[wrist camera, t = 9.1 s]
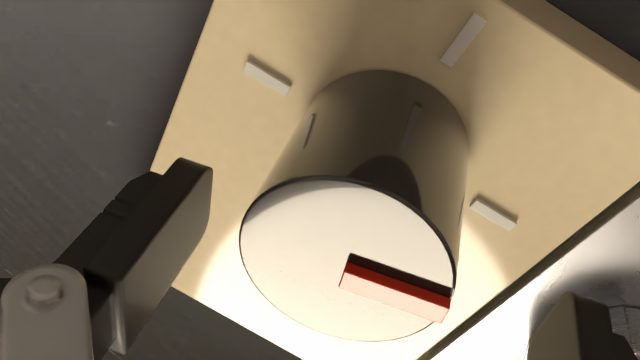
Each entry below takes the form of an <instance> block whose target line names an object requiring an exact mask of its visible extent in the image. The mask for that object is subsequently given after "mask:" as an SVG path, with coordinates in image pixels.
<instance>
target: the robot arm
mask: <svg viewBox="0 0 640 360" xmlns="http://www.w3.org/2000/svg"><path fill="white" fill-rule="evenodd" d="M212 183H213V169H212V168H211V167H209V166H206V165H203V164H200V163H197V162H194V161H191V160H188V159H185V158H183V157H180V158H178V159H176V161H175V162H174V163H173V164H172V165H171V166H170V167H169V168H168V170H167V171H166V172H165V173H164V174H163V175H161V174H158V173H156V172H153V171H150V172H148V173H146V174H144V175H142V176H140V177H138V178H136V179H134V180H131V181H130V182H129V183H128V184H127V185H126V186H125V187H124V188H123V189H122V190H121V191H120V192H119V193H118V195H117V196H116V197H115V200H112V201H111V202H110V203H109V204H108V205H107V206H106V207H105V208H104V211H103V213H100V214H99V215H98V216H97V217H96V218H95V219H94V220H93V221H92V222H91V223H90V225H89V226H88V227H87V228H86V229H85V230H84V231H83V232H82V233H81V234H80V235H79V236H78V237H77V238H76V240H75V241H74V242H73V243H72V244H71V245H70V246H69V247H68V248H67V249H66V250H65V251H64V252H63V253H62V255H61V256H60V257H59V258H58V259H57V260H56V261H54V262H53V263H50V264H42V265H37V266H34V267H31V268H28V269H26V270H24V271H22V272H20V273H19V274H17V275H16V276H15V277H13V278H0V360H101V359H102V358H103V356H104V355H105V353H106V352H107V350H108V349H111V350H113V351H116V352H119V353H121V354H124V355H125V354H126V352H127V351H128V349H129V348H130V346H131V345H132V343H133V342H134V340H135V339H136V337H137V336H138V334H139V333H140V331H141V330H142V328H143V327H144V325H145V324H146V322H147V321H148V319H149V318H150V316H151V315H152V313H153V312H154V310H155V309H156V307H157V306H158V304H159V303H160V301H161V300H162V298H163V297H164V295H165V294H166V292H167V291H168V289H169V288H170V286H171V285H172V283H173V282H174V280H175V279H176V277H177V276H178V274H179V273H180V271H181V270H182V268H183V267H184V265H185V264H186V262H187V261H188V259H189V258H190V256H191V255H192V253H193V251H194V250H195V248H196V247H197V245H198V244H199V242H200V241H201V239H202V237H203V235H204V233H205V230H206V228H207V225H208V221H209V216H210V205H211V194H212ZM527 360H638V358H637V357H636V355H635V353H634V351H633V350H632V348H631V346H630V345H629V343H628V341H627V340H626V338H625V336H622V335H619V334H616V333H613V330H612V324H611V318H610V313H609V308H608V306H607V305H606V304H605V303H603V302H600V301H597V300H594V299H591V298H588V297H585V296H582V295H579V294H576V293H574V292H571V291H567V292H565V293H564V294H563V295H562V296H561V298H560V299H559V300H558V302H557V303H556V304H555V305H554V307H553V308H552V309H551V311H550V312H549V313H548V315H547V316H546V317H545V319H544V320H543V321H542V323H541V324H540V325H539V327H538V328H537V329H536V331H535V332H534V334H533V336H532V338H531V341H530V344H529V347H528V352H527Z"/></svg>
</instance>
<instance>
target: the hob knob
mask: <svg viewBox="0 0 640 360" xmlns="http://www.w3.org/2000/svg"><path fill="white" fill-rule="evenodd" d="M468 161H469V140H468V135H467V131H466V127H465V125H464V123H463V121H462V118H461V117H460V115H459V113H458V112H457V110H456V109H455V107H454V106H453V105H452V104H451V103H450V101H449V100H448V99H447V98H446V97H445V96H444V95H442V94H441V93H440V92H439V91H438V90H436V89H435V88H434V87H432V86H431V85H429V84H427V83H426V82H424V81H422V80H420V79H418V78H415V77H413V76H410V75H407V74H403V73H400V72H395V71H387V70H368V71H360V72H356V73H352V74H349V75H346V76H344V77H341V78H339V79H337V80H335V81H333V82H332V83H330V84H329V85H327V86H326V87H325V88H324V89H322V90H321V91H320V92H319V93H318V94H317V96H316V97H315V98H314V99H313V101H312V102H311V104H310V105H309V107H308V108H307V110H306V112H305V113H304V115H303V117H302V118H301V120H300V122H299V123H298V125H297V127H296V128H295V130H294V132H293V133H292V135H291V137H290V138H289V140H288V142H287V143H286V145H285V147H284V148H283V150H282V152H281V153H280V155H279V157H278V158H277V160H276V162H275V163H274V165H273V167H272V168H271V170H270V172H269V173H268V175H267V177H266V178H265V180H264V182H263V183H262V185H261V187H260V188H259V190H258V192H257V193H256V195H255V197H254V198H253V200H252V202H251V203H250V205H249V207H248V208H247V210H246V212H245V214H244V216H243V219H242V221H241V225H240V229H239V250H240V255H241V259H242V263H243V265H244V267H245V270H246V272H247V274H248V276H249V277H250V279H251V281H252V282H253V284H254V285H255V286H256V288H257V289H258V290H259V292H260V293H261V294H262V295H263V296H264V297H265V298H266V299H267V300H268V301H269V302H270V303H271V304H272V305H273V306H275V307H276V308H277V309H278V310H280V311H281V312H282V313H284V314H285V315H286V316H288V317H290V318H291V319H293V320H295V321H296V322H298V323H300V324H302V325H304V326H306V327H308V328H310V329H313V330H315V331H318V332H320V333H323V334H326V335H329V336H333V337H337V338H341V339H346V340H353V341H363V342H383V341H390V340H396V339H400V338H404V337H408V336H410V335H413V334H416V333H418V332H420V331H422V330H424V329H425V328H427V327H428V326H430V325H431V324H433V323H434V322H437V323H440V324H441V323H442V322H443V320H444V318H445V317H446V315H447V313H448V311H449V309H450V305H451V300H452V298H453V295H454V292H455V288H456V282H457V272H458V262H459V252H460V242H461V232H462V222H463V212H464V202H465V192H466V181H467V171H468Z"/></svg>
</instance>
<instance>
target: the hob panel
mask: <svg viewBox="0 0 640 360" xmlns="http://www.w3.org/2000/svg"><path fill="white" fill-rule="evenodd" d="M368 70H387V71H395V72H400V73H403V74H407V75H410V76H413V77H415V78H418V79H420V80H422V81H424V82H426V83H427V84H429V85H431V86H432V87H434V88H435V89H436V90H438V91H439V92H440V93H441V94H442V95H444V96H445V97H446V98H447V99H448V100H449V101H450V103H451V104H452V105H453V106H454V107H455V109H456V110H457V112H458V113H459V115H460V117H461V118H462V121H463V123H464V125H465V127H466V131H467V135H468V140H469V161H468V171H467V181H466V192H465V202H464V212H463V222H462V232H461V242H460V252H459V262H458V272H457V282H456V288H455V292H454V295H453V298H452V300H451V305H450V309H449V311H448V313H447V315H446V317H445V318H444V320H443V322H442V323H441V324H440V323H437V322H434V323H433V324H431V325H430V326H428V327H427V328H425V329H424V330H422V331H420V332H418V333H416V334H413V335H410V336H408V337H404V338H400V339H396V340H390V341H383V342H363V341H353V340H346V339H341V338H337V337H333V336H329V335H326V334H323V333H320V332H318V331H315V330H313V329H310V328H308V327H306V326H304V325H302V324H300V323H298V322H296V321H295V320H293V319H291V318H290V317H288V316H286V315H285V314H284V313H282V312H281V311H280V310H278V309H277V308H276V307H275V306H273V305H272V304H271V303H270V302H269V301H268V300H267V299H266V298H265V297H264V296H263V295H262V294H261V293H260V292H259V290H258V289H257V288H256V286H255V285H254V284H253V282H252V281H251V279H250V277H249V276H248V274H247V272H246V270H245V267H244V265H243V263H242V259H241V255H240V250H239V229H240V225H241V221H242V219H243V216H244V214H245V212H246V210H247V208H248V207H249V205H250V203H251V202H252V200H253V198H254V197H255V195H256V193H257V192H258V190H259V188H260V187H261V185H262V183H263V182H264V180H265V178H266V177H267V175H268V173H269V172H270V170H271V168H272V167H273V165H274V163H275V162H276V160H277V158H278V157H279V155H280V153H281V152H282V150H283V148H284V147H285V145H286V143H287V142H288V140H289V138H290V137H291V135H292V133H293V132H294V130H295V128H296V127H297V125H298V123H299V122H300V120H301V118H302V117H303V115H304V113H305V112H306V110H307V108H308V107H309V105H310V104H311V102H312V101H313V99H314V98H315V97H316V96H317V94H318V93H319V92H320V91H321V90H322V89H324V88H325V87H326V86H327V85H329V84H330V83H332V82H333V81H335V80H337V79H339V78H341V77H344V76H346V75H349V74H352V73H356V72H360V71H368ZM180 157H183V158H185V159H188V160H191V161H194V162H197V163H200V164H203V165H206V166H209V167H211V168H212V169H213V183H212V194H211V205H210V216H209V221H208V225H207V228H206V230H205V233H204V235H203V237H202V239H201V241H200V242H199V244H198V245H197V247H196V248H195V250H194V251H193V253H192V255H191V256H190V258H189V259H188V261H187V262H186V264H185V265H184V267H183V268H182V270H181V271H180V273H179V274H178V276H177V277H176V279H175V280H174V282H173V283H172V285H171V286H172V287H174V288H176V289H177V290H179V291H181V292H183V293H184V294H186V295H188V296H190V297H192V298H193V299H195V300H197V301H199V302H201V303H202V304H204V305H206V306H208V307H210V308H211V309H213V310H215V311H217V312H218V313H220V314H222V315H224V316H226V317H227V318H229V319H231V320H233V321H235V322H236V323H238V324H240V325H242V326H244V327H245V328H247V329H249V330H251V331H252V332H254V333H256V334H258V335H260V336H261V337H263V338H265V339H267V340H269V341H270V342H272V343H274V344H276V345H278V346H279V347H281V348H283V349H285V350H286V351H288V352H290V353H292V354H294V355H295V356H297V357H299V358H301V359H303V360H417V359H418V358H419V357H421V356H422V355H423V354H424V353H426V352H427V351H428V350H429V349H431V348H432V347H433V346H434V345H436V344H437V343H438V342H439V341H441V340H442V339H443V338H444V337H446V336H447V335H448V334H449V333H451V332H452V331H453V330H454V329H456V328H457V327H458V326H459V325H461V324H462V323H463V322H464V321H466V320H467V319H468V318H469V317H471V316H472V315H473V314H474V313H476V312H477V311H478V310H479V309H481V308H482V307H483V306H484V305H486V304H487V303H488V302H489V301H491V300H492V299H493V298H494V297H496V296H497V295H498V294H499V293H501V292H502V291H503V290H504V289H506V288H507V287H508V286H509V285H511V284H512V283H513V282H514V281H516V280H517V279H518V278H519V277H520V276H522V275H523V274H524V273H525V272H527V271H528V270H529V269H530V268H532V267H533V266H534V265H535V264H537V263H538V262H539V261H540V260H542V259H543V258H544V257H545V256H547V255H548V254H549V253H550V252H552V251H553V250H554V249H555V248H557V247H558V246H559V245H560V244H562V243H563V242H564V241H565V240H567V239H568V238H569V237H570V236H572V235H573V234H574V233H575V232H577V231H578V230H579V229H580V228H582V227H583V226H584V225H585V224H587V223H588V222H589V221H590V220H592V219H593V218H594V217H595V216H597V215H598V214H599V213H600V212H602V211H603V210H604V209H605V208H607V207H608V206H609V205H610V204H612V203H613V202H614V201H615V200H617V199H618V198H619V197H620V196H622V195H623V194H624V193H625V192H627V191H628V190H629V189H630V188H631V187H633V186H634V185H635V184H636V183H638V182H639V181H640V62H639V61H638V60H636V59H635V58H633V57H632V56H630V55H629V54H627V53H626V52H624V51H622V50H621V49H619V48H618V47H616V46H615V45H613V44H612V43H610V42H609V41H607V40H605V39H604V38H602V37H601V36H599V35H598V34H596V33H595V32H593V31H592V30H590V29H588V28H587V27H585V26H584V25H582V24H581V23H579V22H578V21H576V20H575V19H573V18H571V17H570V16H568V15H567V14H565V13H564V12H562V11H561V10H559V9H558V8H556V7H554V6H553V5H551V4H550V3H548V2H547V1H545V0H214V1H213V4H212V6H211V9H210V11H209V14H208V17H207V19H206V22H205V25H204V27H203V30H202V33H201V35H200V38H199V41H198V43H197V46H196V49H195V51H194V54H193V57H192V59H191V62H190V65H189V67H188V70H187V73H186V75H185V78H184V81H183V83H182V86H181V88H180V91H179V94H178V96H177V99H176V102H175V104H174V107H173V110H172V112H171V115H170V118H169V120H168V123H167V126H166V128H165V131H164V134H163V136H162V139H161V142H160V144H159V147H158V150H157V152H156V155H155V158H154V160H153V163H152V165H151V168H150V171H153V172H156V173H158V174H161V175H163V174H164V173H165V172H166V171H167V170H168V168H169V167H170V166H171V165H172V164H173V163H174V162H175V161H176V159H178V158H180ZM150 171H149V172H150Z"/></svg>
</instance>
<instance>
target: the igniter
mask: <svg viewBox="0 0 640 360" xmlns="http://www.w3.org/2000/svg"><path fill="white" fill-rule="evenodd" d="M567 291H571V292H574V293H576V294H579V295H582V296H585V297H588V298H591V299H594V300H597V301H600V302H603V303H605V304H606V305H607V306H608V308H609V313H610V318H611V324H612V330H613V333H616V334H619V335H622V336H625V338H626V340H627V341H628V343H629V345H630V346H631V348H632V350H633V351H634V353H635V355H636V357H637V358H638V360H640V181H639V182H638V183H636V184H635V185H634V186H633V187H631V188H630V189H629V190H628V191H627V192H625V193H624V194H623V195H622V196H620V197H619V198H618V199H617V200H615V201H614V202H613V203H612V204H610V205H609V206H608V207H607V208H605V209H604V210H603V211H602V212H600V213H599V214H598V215H597V216H595V217H594V218H593V219H592V220H590V221H589V222H588V223H587V224H585V225H584V226H583V227H582V228H580V229H579V230H578V231H577V232H575V233H574V234H573V235H572V236H570V237H569V238H568V239H567V240H565V241H564V242H563V243H562V244H560V245H559V246H558V247H557V248H555V249H554V250H553V251H552V252H550V253H549V254H548V255H547V256H545V257H544V258H543V259H542V260H540V261H539V262H538V263H537V264H535V265H534V266H533V267H532V268H530V269H529V270H528V271H527V272H525V273H524V274H523V275H522V276H520V277H519V278H518V279H517V280H516V281H514V282H513V283H512V284H511V285H509V286H508V287H507V288H506V289H504V290H503V291H502V292H501V293H499V294H498V295H497V296H496V297H494V298H493V299H492V300H491V301H489V302H488V303H487V304H486V305H484V306H483V307H482V308H481V309H479V310H478V311H477V312H476V313H474V314H473V315H472V316H471V317H469V318H468V319H467V320H466V321H464V322H463V323H462V324H461V325H459V326H458V327H457V328H456V329H454V330H453V331H452V332H451V333H449V334H448V335H447V336H446V337H444V338H443V339H442V340H441V341H439V342H438V343H437V344H436V345H434V346H433V347H432V348H431V349H429V350H428V351H427V352H426V353H424V354H423V355H422V356H421V357H419V358H418V359H417V360H527V352H528V347H529V344H530V341H531V338H532V336H533V334H534V332H535V331H536V329H537V328H538V327H539V325H540V324H541V323H542V321H543V320H544V319H545V317H546V316H547V315H548V313H549V312H550V311H551V309H552V308H553V307H554V305H555V304H556V303H557V302H558V300H559V299H560V298H561V296H562V295H563V294H564V293H565V292H567Z"/></svg>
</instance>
